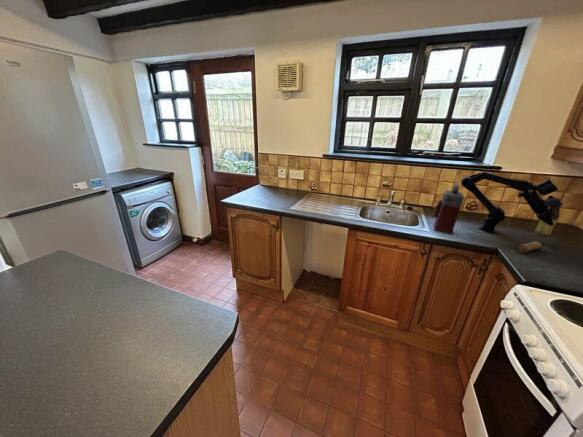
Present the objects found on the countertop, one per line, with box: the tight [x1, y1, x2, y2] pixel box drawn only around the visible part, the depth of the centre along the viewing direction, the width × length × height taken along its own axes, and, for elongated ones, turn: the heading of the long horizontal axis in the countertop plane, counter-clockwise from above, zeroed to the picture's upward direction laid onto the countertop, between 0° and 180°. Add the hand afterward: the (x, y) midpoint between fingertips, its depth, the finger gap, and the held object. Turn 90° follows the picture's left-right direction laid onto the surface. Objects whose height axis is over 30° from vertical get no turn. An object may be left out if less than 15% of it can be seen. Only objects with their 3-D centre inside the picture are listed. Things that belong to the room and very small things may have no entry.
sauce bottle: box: [534, 201, 564, 238], centre depth 131 cm, size 7×6×20 cm
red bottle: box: [433, 184, 465, 235], centre depth 142 cm, size 9×11×28 cm
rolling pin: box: [517, 241, 542, 254], centre depth 127 cm, size 16×4×4 cm, turn 111°
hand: (551, 223), depth 132 cm, fingers closed on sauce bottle, 6 cm apart
